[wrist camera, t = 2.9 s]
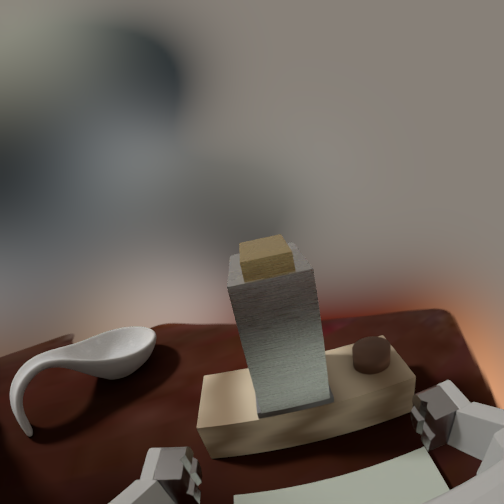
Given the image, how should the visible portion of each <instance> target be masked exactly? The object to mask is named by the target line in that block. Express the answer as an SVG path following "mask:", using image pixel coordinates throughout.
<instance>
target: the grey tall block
mask: <svg viewBox="0 0 504 504" xmlns="http://www.w3.org/2000/svg"><path fill="white" fill-rule="evenodd" d="M239 244H240V245H239V246H240V254H235V255H230V262H229V273H228V283H227V288H228V293H229V296H230V300H231V304H232V308H233V312H234V316H235V320H236V324H237V327H238V331H239V335H240V339H241V342H242V346H243V350H244V354H245V357H246V361H247V365H248V368H249V372H250V375H251V379H252V383H253V386H254V390H255V393H256V397H257V400H258V404H259V407H260V411H261V413H267V412H272V411H277V410H282V409H287V408H292V407H296V406H301V405H305V404H309V403H313V402H317V401H321V400H325V399H329V398H330V393H329V384H328V375H327V366H326V357H325V349H324V341H323V333H322V326H321V318H320V311H319V304H318V297H317V290H316V284H315V277H314V271H313V268H312V266H311V265H310V264H309V262H308V261H307V260H306V258H305V257H304V256H303V254H302V253H301V252H300V250H299V249H298V248H297V246H296V245H295V244H294V243H293V242H291V243H286V242H285V240H284V239H283V237H282V236H281V234H280V235H275V236H271V237H266V238H261V239H257V240H252V241H247V242H243V243H239Z"/></svg>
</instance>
